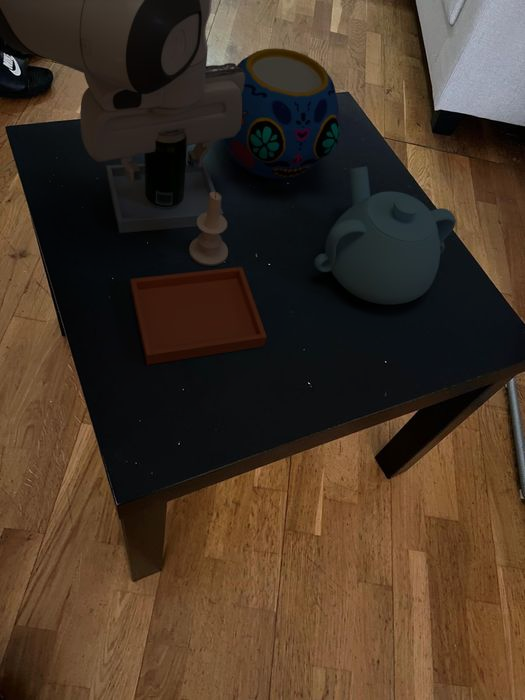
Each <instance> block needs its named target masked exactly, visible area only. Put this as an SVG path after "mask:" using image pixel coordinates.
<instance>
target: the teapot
mask: <svg viewBox="0 0 525 700" xmlns="http://www.w3.org/2000/svg"><path fill="white" fill-rule="evenodd" d="M368 171H369V170H368V166H367V165H366V166H359V167H353V168H352V167H351V168H348V176H349V187H350V188H349V189H350V198H351V207H350V208H348V209H347V210H346V211H345V212H344V213H342V215H340V216H339V218H338V219H337V220H336V221H335V223H334V224H333V225H332V227H331V229H330V231H329V233H328V234H327V237H326V240H325V243H324V253H320V254H317V255H316V257H315V259H314V267H315V269H316V270H317V271H319V272H321V273H329V272H331V274H332V275H333V276H334V278H335V279H336V281H337V282H338V283H339V284H340V285H341V286H342V287H343V288H344V289H345V290H346V291H347V292H349V293H350V294H352V295H353V296H354V297H356V298H358V299H361V300H363V301H366V302H368V303H372V304H377V305H400V304H402V305H403V304H406V303H410V302H412V301H414V300H416V299H418V298H420V297H422V296H423V295H424V294H425V293H426V292H427V291H428V290H429V289H430V287H431V286H432V284H433V282H434V280H435V278H436V275H437V273H438V269H439V265H440V262H441V261H440V260H441V255H442V254H443V252H444V250H445V247H446V245H445V242H444V241H445V240H446V239H447V237H448V236H450V234H451V233H452V231H454V228H455V227H456V223H457V222H456V221H457V220H456V217H455V215H454V214H453V212H451V210H449V209H447V208H436V209H435V208H434V209H432V210H430V208H428V207H427V205H425V204H424V203H423V202H422V201H421V200H420V199H418V198H416V197H414V196H412V195H409V194H407V193H404V192H399V191H392V190H391V191H389V190H388V191H381V192H377V193H375V194H373V195H371V190H370V189H371V187H370V180H369V179H370V178H369V172H368ZM442 221H443V222H442ZM438 222H442V224H440V226H439V227H438V225H437V223H438Z"/></svg>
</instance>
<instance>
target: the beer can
mask: <svg viewBox="0 0 525 700" xmlns="http://www.w3.org/2000/svg"><path fill="white" fill-rule="evenodd" d="M184 131H185V128H183V129H181V130H180V131H178V129H177V130H172V131H166V132H165V133H162V132H159V133H158V135H159V136H158V138H157V139H156V149H155V152H151V153H145V154H144V164H145V195H146V198H147V200H148V201H149V203H150V204H151V205H152V206H154V207H156V208H159V209H163V210H169V209H173V208H176V207H177V206H178V205H179V204H180V203H181V202H182V200H183V198H184V185H185V168H186V162H187V152H188V151H187V149H188V146H186V139H187V135H186V133H185V132H184Z"/></svg>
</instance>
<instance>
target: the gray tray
mask: <svg viewBox="0 0 525 700" xmlns="http://www.w3.org/2000/svg"><path fill="white" fill-rule="evenodd" d="M137 166H138V167H139V168H140V170H141V175H140V177H141V179H140V180H136V181H132V182H129V180H128V178H127V176H126V173H125V167H124V166H123V165H122V164H110V165H106V166H105V167H106V177H107V183H108V188H109V192H110V197H111V201H112V207H113V211H114V217H115V221H116V226H117V230H118V233H119V234H125V233H136V232H148V231H149V232H150V231H159V230H160V231H161V230H173V229H185V228H195V227H198V226H197V219H198V217H199V216H200V215H201V214H203V213H206V212H207V208H208V201H209V196H210V195H209V194H210V192H217V191H216V189H215V186H214V183H213V181H212V178H211V174H210V172H209V168H208V166H207V164H206V161H205V160H203V163H202V167H200V168H194V169H191V167H190V166H189V164H188V162H187V161H186V168H185V185H184V198H183V200H182V202H181V203H180V204H179V205H178V206H177V207H176V208H173V209H169V210H163V209H159V208H156V207H154V206H152V205H151V204H150V203H149V201H148V200H147V198H146V195H145V163H137ZM220 215H222V216H223V217H224V211H223V208H222V207H221V209H220Z"/></svg>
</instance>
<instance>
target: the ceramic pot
mask: <svg viewBox="0 0 525 700" xmlns="http://www.w3.org/2000/svg"><path fill="white" fill-rule="evenodd" d="M236 66H238V67H240V68H242V70H243V71H244V74H245V83H244V89H243V92H242V94H241V96H242V123H241V129H240V131H239V132H238V133H237V134H236V136H234V137H231V138H226V139H222V140H223V143H224V145H225V147H226V149H227V151H228V153H229V154H230V155H231V156H232V158H233V159H234V161H235V162H236V163H237V164H238V165H239V166H241V167H242V168H243V169H245V170H246V171H248V172H250V173H251V174H254V175H256V176H259V177H263V178H266V179H271V180H273V179H274V180H287V179H292V178H296V177H299V176H301V175H304V174H305V173H307V172H308V171H309V170H311V169H312V168H314V166H316V165H317V164H318V163H319V162H320V161H321V160H323V158H324V157H327V156H329V155H330V154H331V153H332V152H333V151H334V150H335V149H336V147H337V145H338V144H339V141H340V136H341V130H340V124H339V112H340V111H339V102H338V97H337V92H336V87H335V84H334V81H333V79H332V78H331V76H330V75H329V73H328V72H327V71H326V69H325V67H323V66H322V65H321V64H320V63H319V62H318V61H317V60H314V59H313V58H311V57H310V56H308V55H307V54H304V53H301V52H298V51H295V50H292V49H286V48H278V47H277V48H275V47H273V48H264V49H260V50H257V51H255V52H253V53H251V54H250V55H248V56H246V57H245V58H243V59H242V60H241V61H239V63H238V64H236Z"/></svg>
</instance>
